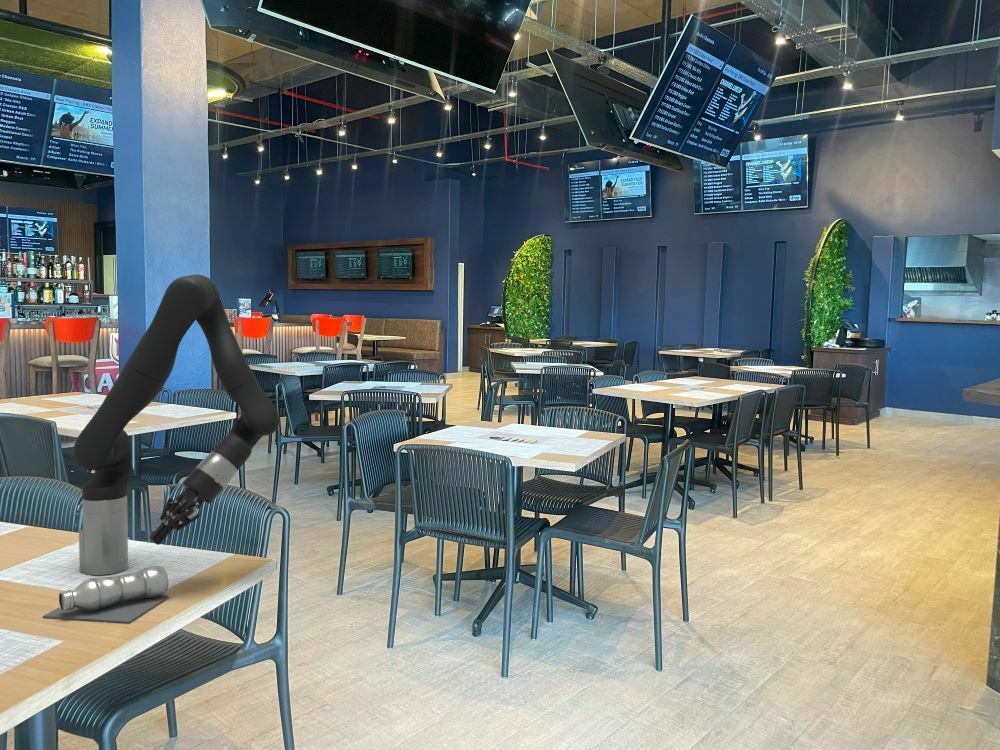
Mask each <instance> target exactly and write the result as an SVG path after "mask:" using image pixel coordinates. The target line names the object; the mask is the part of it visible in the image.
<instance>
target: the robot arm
mask: <svg viewBox="0 0 1000 750" xmlns="http://www.w3.org/2000/svg"><path fill="white" fill-rule="evenodd" d="M195 322H197V324H198V325H199V327H200V328H201V329H202V332H203V334H204V336H205V338H206V342H207V343H208V348H209V351H210V355H211V360H212V363H213V366H214V369H215V372H216V374H217V375H216V376H218V380H219V381H220V382H221V384H222V387H223V388H224V389H225V391H226V394H227V395H228V397H229V399H230V400H231V401H233V402H234V403H236V404H237V405H238V407H239V409H240V411H241V412H242V414H241V415H240V416H239V418H238V419H237V420H236V421H235V423H234V424H233V426H232V427H231V428H230V430H229V431H228V433H227V434H226V436H224V438H222V439H221V441H220V442H219V443H218V444H216V446H215V448H213V450H212V451H211V452H210V453H209V454H207V455H206V456H205V457H204V458H202V460H201V461H200V462H199V464H197V466H196V467H195V468H194V469H193V470H192V471H191V473H190V474H189V475H188V476H187V477H186V478H185V479H183V481H182V485H183V487H184V488H185V489H184V490H183V492H181V493H180V494H179V495H177V496H176V498H175V499H173V498H169V499H168V500H167V502H166V503H165V505H164V508H163V510H162V512H161V515H160V517H159V520H161V521H160V525H158V527H157V528H156V529H155V530H154V531H153V532H152V534H151V535H150V536H149V540H150V541H151V542H153V543H154V544H156V545H157V546H158V545H161V544H162V542H164V541H165V539H166V538H167V537H168V535H170V534H171V532H175V531H181V530H182V529H184V528H185V527H186V526H188V525H190V524H191V523H193V522H194V521H196V520H197V519H199V517H200V515H201V514H200V513H198V510H199V509H201V507H202V506H203V504H204V503H205V504H209V505H210V504H211V503H213V501H214V500H216V498H217V497H218V496H219V494H220V493H221V492H222V491H223V490H224V489H225V488H226V486H227V485H228V484H229V483H230V482H231V480H232V479H233V478H234V476H235V475H236V473H237V472H238V471H239V470H240V468H242V466H243V465H244V464H245V463H246V462H247V461H248V459H249V458H250V456H251V454H252V452H253V450H252V449H253V448H254V447H255V446H256V445H257V444H258V442H259V441H260V440H261V439H262V437H265V436H266V437H267V436H270V435H272V434H274V433H275V432H276V431H277V430H278V428H279V426H280V415H279V412H278V410H277V408H276V406H275V405H274V403H273V401H271V399H270V397H269V396H268V395H267V394H266V393H265V391H264V390H263V389H262V387H261V386H260V385H259V383H258V380H257V378H256V376H255V374H254V372H253V370H252V369H251V367H250V365H249V363H248V361H247V359H246V358H245V355H244V353H243V351H242V350H241V347H240V346H239V344H238V341H237V339H236V336H235V335H234V332H233V329H232V327H231V325H230V321H229V319H228V316H227V314H226V311H225V308H224V305H223V302H222V298H221V295H220V293H219V290H218V288H217V286H216V284H215V282H214V281H213V280H212V279H210V278H209V277H207V276H205V275H203V274H190V275H185V276H180V277H177V278H176V279H174V280H172V282H171V283H170V284H169V285H167V288H166V289H165V292H164V294H163V297H162V298H161V301H160V303H159V306H158V308H157V310H156V312H155V314H154V317H153V318H152V321H151V322H150V324H149V326H148V328H147V330H146V331H145V332H144V333H143V335H142V336H141V338H140V339H139V341H138V343H137V345H135V348H134V349H133V351H132V353H131V354H130V355H129V357H128V358H127V360H126V362H125V364H124V365H123V367H122V369H121V370H120V372H119V374H118V377H117V378H116V380H115V382H114V383H113V385H112V386H111V388H110V389H109V391H108V393H107V395H106V397H105V398H104V399H103V402H102V404H101V405H100V407H99V408H98V410H97V411H96V412H95V414H94V415H93V416H92V418H91V419H90V420H89V421H88V423H87V424H86V425H85V427H84V428H83V429H82V431H81V432H80V433H79V435H78V436H77V438H76V440H75V442H74V445H73V449H72V450H73V452H72V453H73V458H74V461H75V463H76V465H77V466H78V467H79V468H81V469H83V470H85V471H94V473H93V474H92V477H91V478H90V479H89V480H88V481H87V482H86V483H84V485H83V487H82V493H81V494H82V529H81V530H79V532H78V542H79V543H78V546H79V547H78V548H79V549H78V551H79V556H78V557H79V572H80V573H84V574H86V575H89V576H90V575H91V576H104V575H112V574H116V573H120V572H123V571H125V570H127V569H128V566H129V540H128V539H129V538H128V536H129V535H128V534H129V533H128V532H129V531H128V530H129V529H128V527H129V525H128V488H129V486H130V483H131V480H132V479H131V478H132V477H131V476H132V461H133V460H132V458H133V457H132V456H133V455H132V454H133V453H132V452H133V450H132V443H131V442H132V441H131V439H130V436H129V435H128V433H127V431H126V430H125V428H126V426H127V425H128V424H129V423H130V422H131V421H132V420H133V419H134V418H135V417H136V416H137V415H139V413H141V412H142V411H143V410H144V409H145V408H146V407H147V406H148V405H150V404H151V403H152V402H153V401H154V400H155V399H156V397H157V396H158V395H159V394H160V392H161V390H162V389H163V388H164V386H165V384H166V382H167V381H168V379H169V378H170V376H171V373H172V372H173V369H174V366H175V362H176V359H177V354H178V350H179V346H180V344H181V342H182V341H183V338H184V337H185V335H186V334H187V332H188V331H189V330H190V328H191V327H192V326H193V324H194V323H195Z"/></svg>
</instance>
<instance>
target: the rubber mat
mask: <svg viewBox="0 0 1000 750" xmlns="http://www.w3.org/2000/svg"><path fill="white" fill-rule="evenodd" d="M168 599H169V596H167V595H162V596H159V597H157V598H143V599H136V600H129V601H125V602H121V603H117V604H114V605H111V606H108V607H105V608H102V609H100V610H97V611H93V612H91V611H85V610H82V609H79V608H77V607H74V609H73V610H66V611H61V609H60V606H59V607H56V608H54V609H53V610H52V611H50V612H48V613H46V614H44V615H43V616H42V618H43V619H52V620H53V619H54V620H66V621H67V620H68V621H84V622H99V623H113V624H115V623H116V624H127V625H129V624H131V623H133V622H134V621H136V620H138V619H139V618H140V617H142V616H144V615H145V614H147V613H148V612H150V611H151V610H153V609H154V608H156V607H157V606H159V605H161V604H162V603H164V602H165V601H167V600H168Z"/></svg>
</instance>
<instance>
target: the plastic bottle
mask: <svg viewBox="0 0 1000 750" xmlns="http://www.w3.org/2000/svg"><path fill="white" fill-rule="evenodd" d="M168 590H169V577H168V574H167V571H166V568H164V567H163V566H161V565H150V566H147V567H144V568H141V569H140V570H135V571H133V572H130V573H125V574H121V575H114V576H113V575H112V576H106V577H91V578H87V579H85V580H83V581H82V582H81V583H79V584H78V585H77V586H76V587H75V588H74V589H73V590H72V589H67V590H64V591H61V592H59V593H58V603H59V607H60V609H61V611H66V610H73V609H74V607H77V608H79V609H82V610H85V611H91V612H93V611H97V610H100V609H102V608H105V607H108V606H111V605H114V604H117V603H121V602H125V601H129V600H136V599H143V598H157V597H159V596H165V594H166V593H167V592H168Z"/></svg>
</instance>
